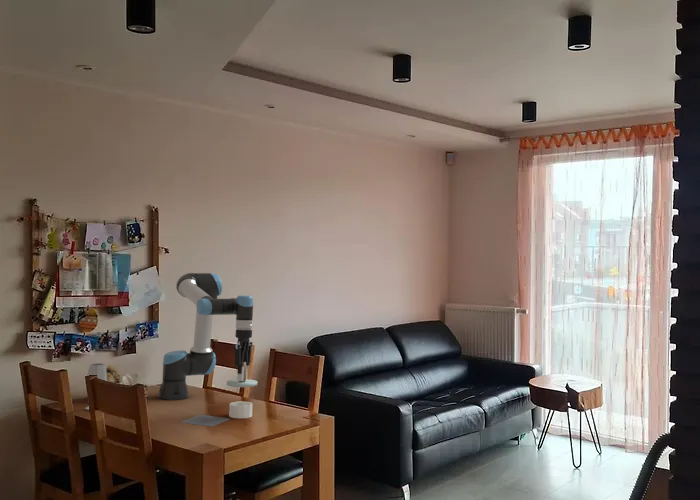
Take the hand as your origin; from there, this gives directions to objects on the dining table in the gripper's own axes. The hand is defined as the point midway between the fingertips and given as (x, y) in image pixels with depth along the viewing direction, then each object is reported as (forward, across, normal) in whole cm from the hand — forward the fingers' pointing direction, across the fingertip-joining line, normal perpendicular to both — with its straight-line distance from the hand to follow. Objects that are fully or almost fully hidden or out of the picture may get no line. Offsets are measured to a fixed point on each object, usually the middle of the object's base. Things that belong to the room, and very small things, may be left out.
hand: (242, 380), depth 303 cm
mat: (+17, -15, +9) cm, 24 cm away
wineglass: (+17, -19, +66) cm, 71 cm away
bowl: (+17, 0, 0) cm, 17 cm away
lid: (+2, 0, 0) cm, 2 cm away
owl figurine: (+17, +1, +76) cm, 78 cm away
